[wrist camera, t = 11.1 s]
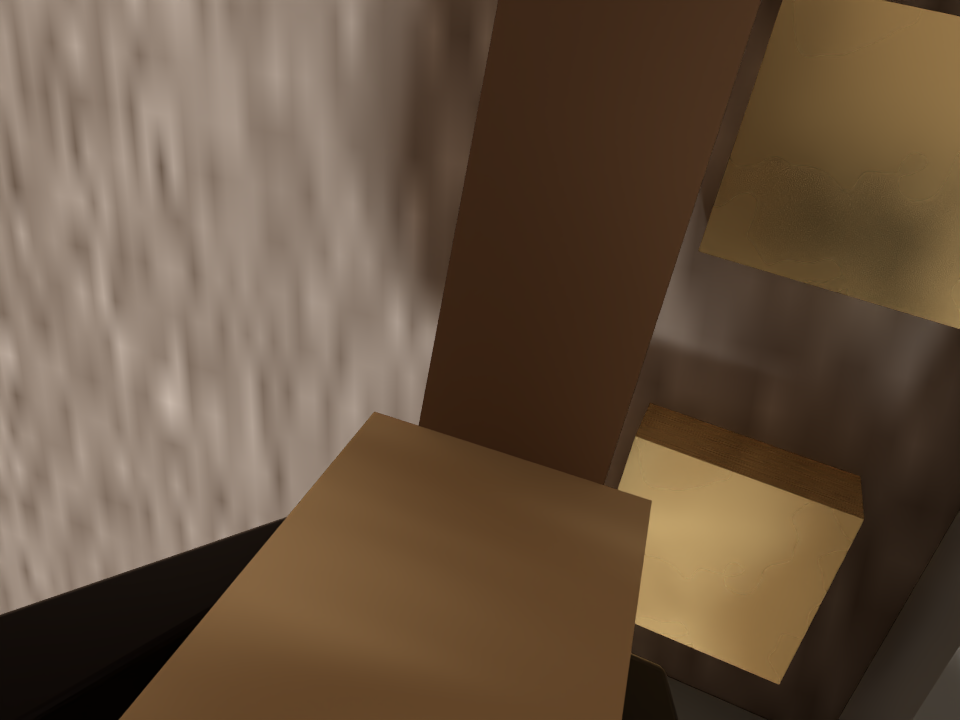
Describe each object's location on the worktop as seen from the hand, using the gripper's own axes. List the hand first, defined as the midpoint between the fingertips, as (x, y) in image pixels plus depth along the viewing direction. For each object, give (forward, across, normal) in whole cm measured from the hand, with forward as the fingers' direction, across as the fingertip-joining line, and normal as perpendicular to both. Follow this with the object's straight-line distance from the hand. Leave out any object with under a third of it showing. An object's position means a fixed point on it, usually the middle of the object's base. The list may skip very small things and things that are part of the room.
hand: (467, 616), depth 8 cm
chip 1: (+10, -3, -4) cm, 12 cm away
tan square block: (+10, -3, +4) cm, 12 cm away
